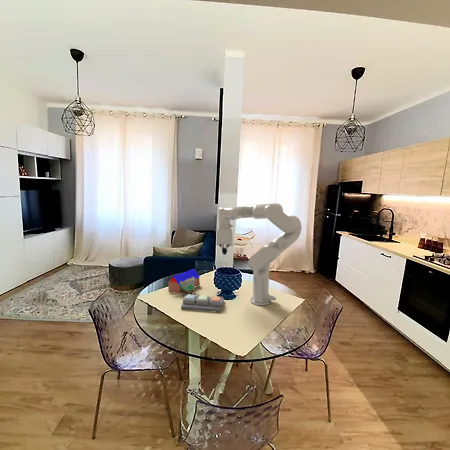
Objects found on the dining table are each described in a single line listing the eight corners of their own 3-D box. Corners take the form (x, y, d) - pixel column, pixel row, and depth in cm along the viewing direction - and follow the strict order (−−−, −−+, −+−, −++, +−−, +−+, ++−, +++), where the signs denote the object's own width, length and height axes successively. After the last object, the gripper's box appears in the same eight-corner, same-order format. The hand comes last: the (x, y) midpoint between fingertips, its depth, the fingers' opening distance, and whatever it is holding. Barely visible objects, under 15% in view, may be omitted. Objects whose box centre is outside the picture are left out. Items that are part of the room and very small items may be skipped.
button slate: (195, 298, 156) (195, 295, 155) (193, 302, 151) (193, 298, 151) (187, 298, 157) (187, 294, 156) (185, 301, 152) (184, 298, 151)
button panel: (223, 301, 158) (223, 294, 157) (219, 312, 144) (219, 304, 144) (188, 299, 161) (188, 292, 161) (181, 309, 148) (180, 302, 147)
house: (167, 290, 175) (167, 274, 174) (188, 282, 191) (188, 267, 189) (179, 294, 168) (179, 278, 166) (200, 285, 184) (199, 270, 182)
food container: (186, 298, 163) (185, 283, 161) (179, 295, 167) (179, 281, 165) (199, 291, 173) (199, 277, 171) (192, 289, 176) (192, 275, 175)
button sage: (208, 299, 154) (208, 295, 154) (206, 303, 150) (206, 299, 149) (200, 299, 155) (200, 295, 155) (198, 302, 150) (197, 298, 150)
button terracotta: (221, 300, 153) (221, 296, 153) (219, 304, 148) (219, 300, 148) (212, 300, 154) (212, 296, 154) (211, 303, 149) (211, 299, 149)
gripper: (236, 225, 166) (236, 253, 168) (214, 225, 168) (214, 252, 171) (235, 227, 158) (235, 256, 161) (211, 227, 161) (212, 255, 163)
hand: (224, 254), depth 166 cm, fingers closed
